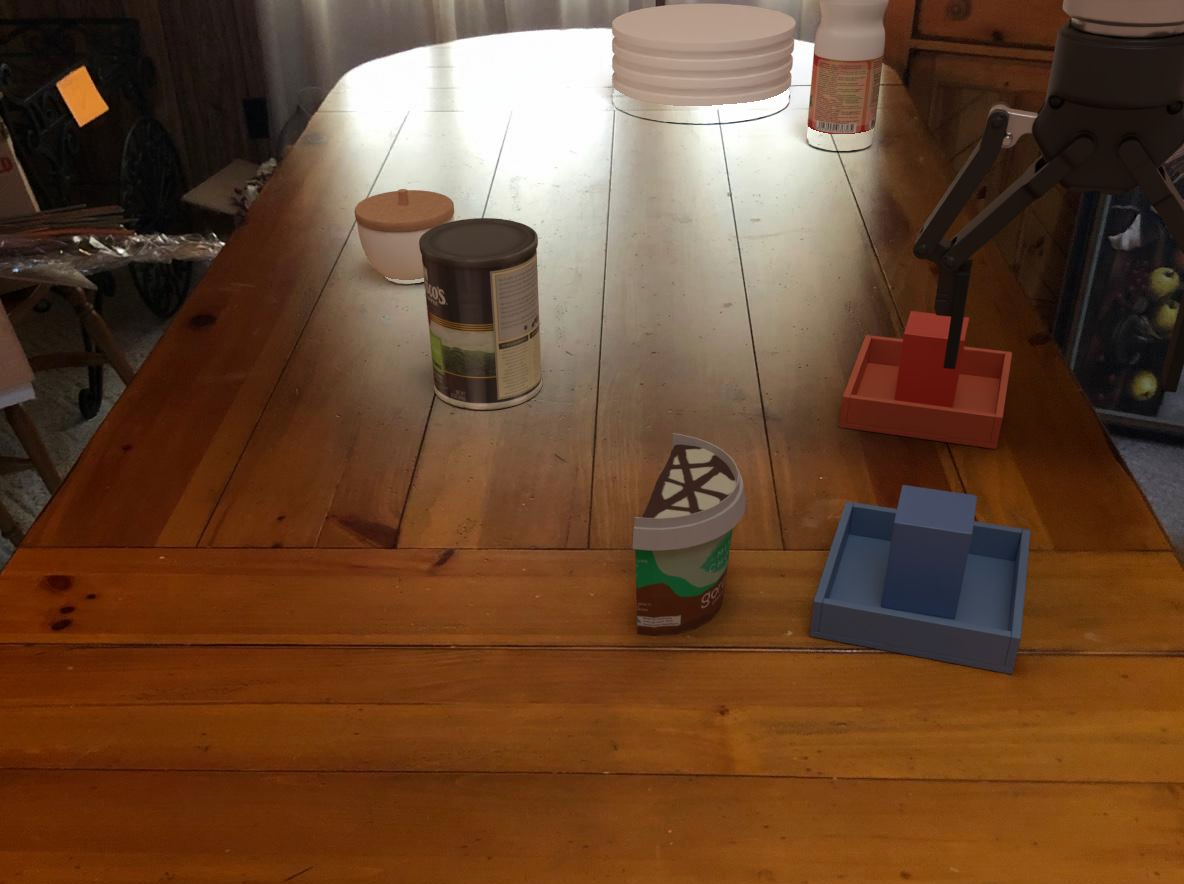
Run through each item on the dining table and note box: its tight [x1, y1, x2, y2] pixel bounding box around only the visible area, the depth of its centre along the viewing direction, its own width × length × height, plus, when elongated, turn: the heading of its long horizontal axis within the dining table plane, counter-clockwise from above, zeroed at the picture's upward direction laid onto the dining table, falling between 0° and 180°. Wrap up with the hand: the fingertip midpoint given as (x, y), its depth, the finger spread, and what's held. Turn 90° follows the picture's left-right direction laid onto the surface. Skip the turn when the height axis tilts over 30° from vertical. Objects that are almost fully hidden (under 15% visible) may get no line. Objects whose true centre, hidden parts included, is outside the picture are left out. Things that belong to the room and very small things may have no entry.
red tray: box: [838, 334, 1013, 450], centre depth 108 cm, size 13×13×3 cm
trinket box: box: [354, 188, 455, 280], centre depth 134 cm, size 11×11×9 cm
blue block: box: [881, 484, 978, 619], centre depth 83 cm, size 5×5×7 cm
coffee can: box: [419, 217, 544, 411], centre depth 110 cm, size 10×10×14 cm
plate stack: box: [611, 3, 797, 106], centre depth 190 cm, size 28×28×12 cm
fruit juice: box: [807, 0, 890, 134], centre depth 165 cm, size 9×9×28 cm
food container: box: [632, 432, 747, 636], centre depth 83 cm, size 12×6×10 cm, turn 164°
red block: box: [894, 310, 970, 408], centre depth 107 cm, size 5×5×7 cm
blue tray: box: [809, 501, 1032, 675], centre depth 85 cm, size 13×13×3 cm
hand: (1057, 371), depth 80 cm, fingers open, 13 cm apart
